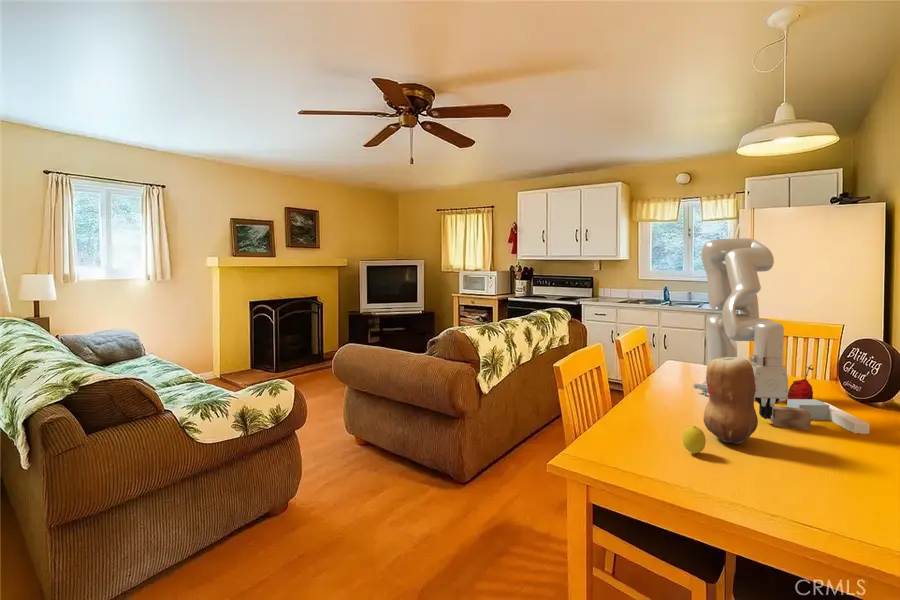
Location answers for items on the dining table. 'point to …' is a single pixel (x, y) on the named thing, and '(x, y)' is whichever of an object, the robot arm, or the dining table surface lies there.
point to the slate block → (811, 407)
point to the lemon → (694, 439)
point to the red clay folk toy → (801, 388)
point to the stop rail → (847, 421)
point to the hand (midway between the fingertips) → (765, 417)
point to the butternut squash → (730, 399)
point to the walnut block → (791, 417)
